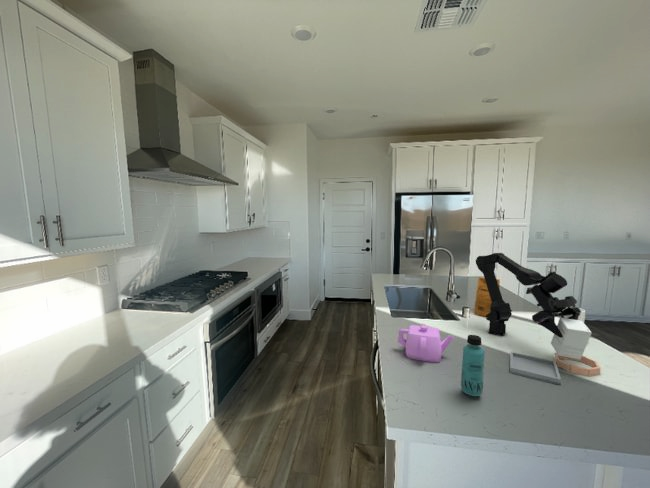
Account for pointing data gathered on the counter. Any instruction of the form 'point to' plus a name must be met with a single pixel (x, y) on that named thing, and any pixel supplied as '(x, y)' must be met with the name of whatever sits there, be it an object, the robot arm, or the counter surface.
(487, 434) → the counter surface
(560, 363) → the segmented octagonal ring
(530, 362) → the tray
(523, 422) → the counter surface
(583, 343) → the supplement box
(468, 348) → the beverage bottle
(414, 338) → the teakettle
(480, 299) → the coffee package
